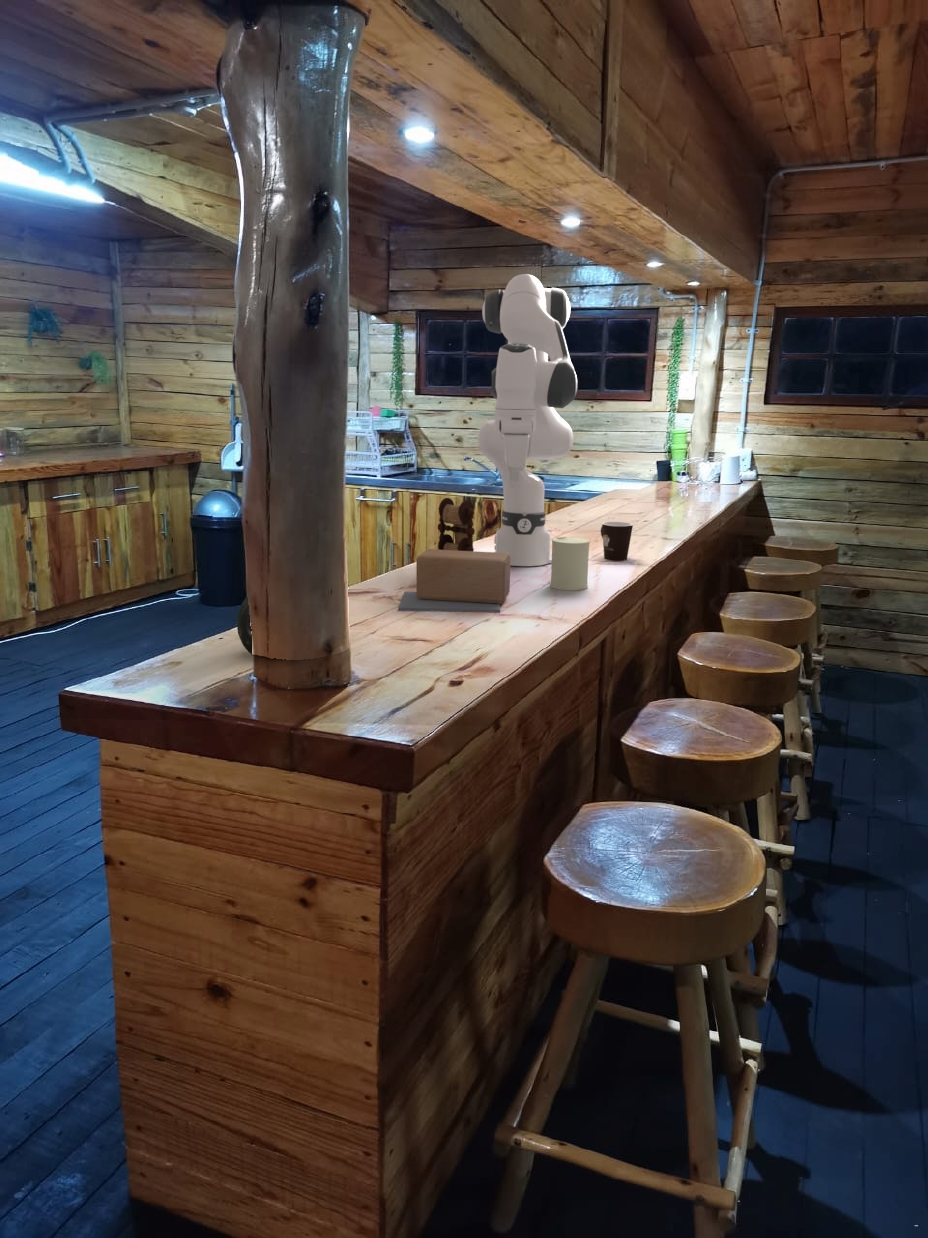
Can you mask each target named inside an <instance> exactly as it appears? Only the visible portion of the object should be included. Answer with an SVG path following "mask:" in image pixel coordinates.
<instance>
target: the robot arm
mask: <svg viewBox="0 0 928 1238" xmlns="http://www.w3.org/2000/svg"><path fill="white" fill-rule="evenodd" d="M481 312H482V320H483V322H484V324H485V328H486V329H487V330H488V331H489V332H491V333H494V334H495V333H496V334H500V335H501V334H503V336H504V338H506V340H507V344H504V345H502V346H500V348H499V350H498V355H497V361H496V367H494V369H493V370H491V390H490V395H491V396H493V398H494V399H495V400H496V402H495V406H494V419H491V420H487V421H485V422H483V424H482V426H481V427H480V429H479V431H478V435H477V443H478V447H479V450H480V452H481V453H482V454H483V456H485V458H487V459H488V460H489V461H490V462H491V463H492V464H493V465H494V466H495V468H496V469H497V471H498V473H499V475H500V477H501V482H502V490H503V510H502V511H501V524H502V525H501V527H500V528H499V529H498V530H497V531H496V532H495V533H496V534H495V535H494V540H493V543H494V544H495V545H494V552H496V553H507V554H509V555H510V566H512V567H513V566H514V567H515V566H516V567H536V566H544V565H547V564H552V554H551V533H550V531H549V530H548V529H547V528H546V527H545V525H546V519H547V518H546V517H547V516H546V511H545V489H546V488H545V483H544V481H543V479H542V478H541V477H539V476H537V475H536V474H534V473H532V472H530V471H528V470H527V469H525V467H526V463H527V461H551V460H556V459H561V458H565V457H566V456H568V454H570V451H571V450H572V448H573V445H574V440H575V439H574V438H575V436H574V431H573V430H572V427H571V426H570V424H569V423H568V422H567V421H566V420H564V419H563V417H561V416H560V415H559V414H558V412H557V411H556V410H555V409H564V408H566V407H567V406H568V405H569V404H571V402H572V403H573V401H574V400H575V398H576V395H577V392H578V391H577V390H578V377H577V374H576V371H575V367H574V365H573V363H572V361H571V357H570V353H569V350H568V349H569V348H568V345H567V341H566V338H565V334H564V331H563V330H564V328H565V327H566V326H567V322H568V321H569V319H570V315H571V303H570V301H569V297H568V296H567V292H566V291H565V290H563V289H561V288H557V287H551V288H547V287H544V286H543V284H542V283H541V281H540V280H539V279H538V278H537V277H536V276H534V275H532V274H528V273H522V274H517V275H516V276H514V277H513V278H511V279H510V280H509V281H508V283H507V284H506V287H505V289H502V290H501V289H495V290H492V291H489V293H488V294H487V295H486V296H485V299H484V302H483V305H482V310H481Z"/></svg>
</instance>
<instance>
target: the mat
mask: <svg viewBox="0 0 928 1238" xmlns="http://www.w3.org/2000/svg"><path fill="white" fill-rule="evenodd" d="M397 611H399V612H400V611H402V612H405V611H406V612H408V611H409V612H411V611H412V612H458V613H459V612H460V613H461V612H462V613H463V612H465V613H470V612H472V613H501V606H500V604H494V603H477V602H460V601H443V600H426V599H419V598H418V597H417V595H416V591H410V590H407V591H405V590H404V591H403V594H402V596H401V599H400V602H399V605H398V608H397Z"/></svg>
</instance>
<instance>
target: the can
mask: <svg viewBox="0 0 928 1238" xmlns="http://www.w3.org/2000/svg"><path fill="white" fill-rule="evenodd" d="M590 543H591V541H590V539H588V538H585V537H584V538H583V537H579V536H577V537H576V536H575V537H574V536H560V537H553V538H552V539H551V556H552V563H551V564H550V565H551V567H550V568H551V572H550V584H549V587H551V588H552V589H555V590H559V591H568V592H569V591H575V592H576V591H583V590H587V589H588V587H589V586H588V576H589V575H588V574H589V569H588V568H589V555H590V553H589V552H590Z"/></svg>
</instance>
